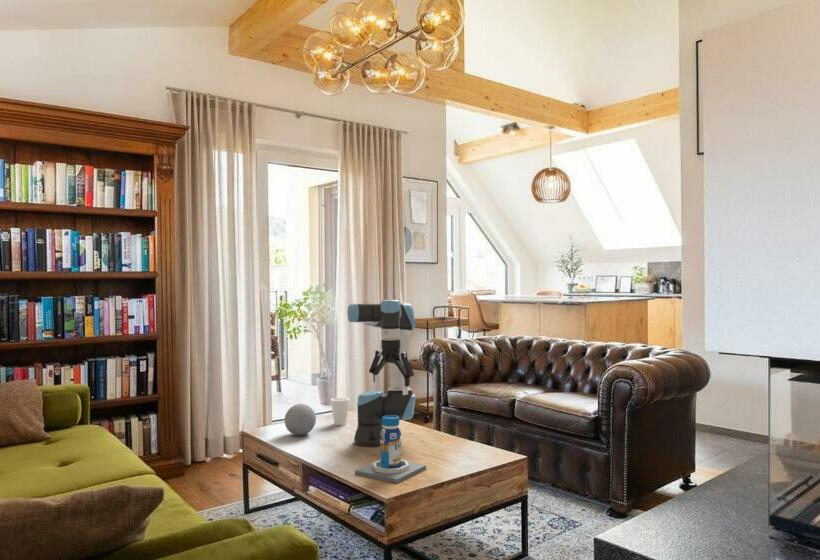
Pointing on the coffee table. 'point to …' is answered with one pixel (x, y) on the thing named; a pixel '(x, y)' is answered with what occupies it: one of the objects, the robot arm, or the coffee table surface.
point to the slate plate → (390, 476)
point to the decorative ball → (300, 419)
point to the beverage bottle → (390, 442)
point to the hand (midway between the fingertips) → (391, 392)
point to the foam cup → (340, 410)
